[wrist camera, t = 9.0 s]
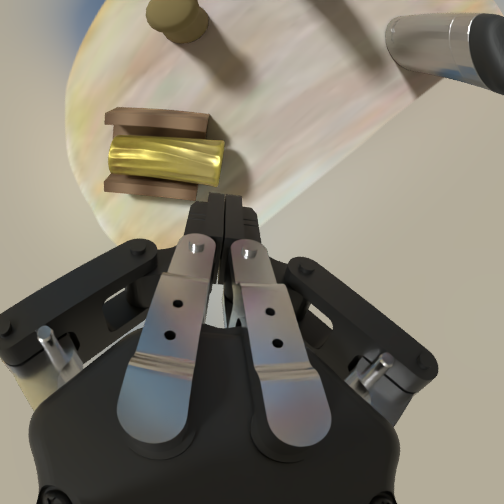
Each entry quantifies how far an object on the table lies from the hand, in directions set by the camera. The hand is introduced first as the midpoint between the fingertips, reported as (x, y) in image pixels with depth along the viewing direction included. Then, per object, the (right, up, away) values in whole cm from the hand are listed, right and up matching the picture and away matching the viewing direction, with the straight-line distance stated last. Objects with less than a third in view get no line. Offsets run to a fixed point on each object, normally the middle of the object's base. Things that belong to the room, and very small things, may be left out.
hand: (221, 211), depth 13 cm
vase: (-2, +9, +22) cm, 24 cm away
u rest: (-12, +13, +23) cm, 29 cm away
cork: (-7, +27, +13) cm, 31 cm away
